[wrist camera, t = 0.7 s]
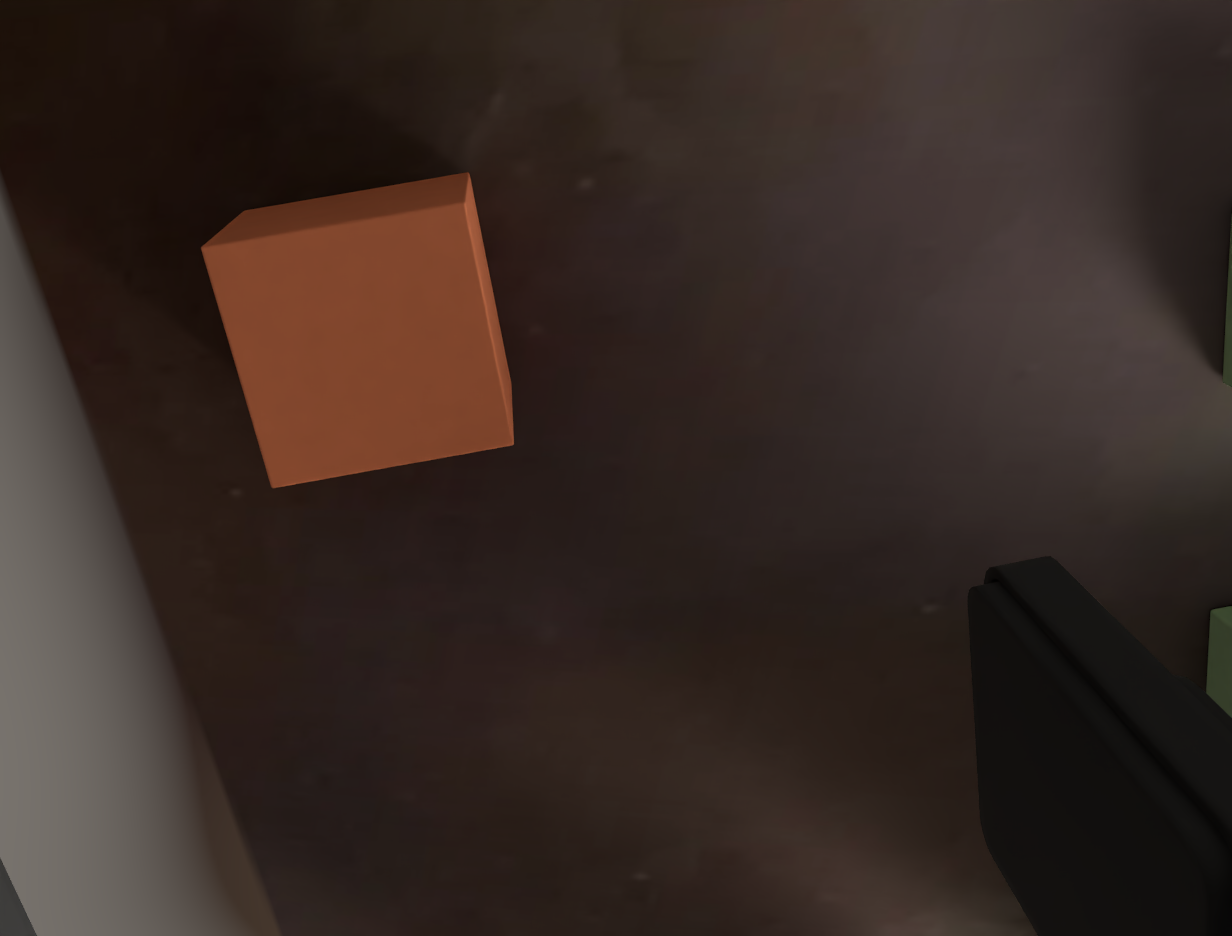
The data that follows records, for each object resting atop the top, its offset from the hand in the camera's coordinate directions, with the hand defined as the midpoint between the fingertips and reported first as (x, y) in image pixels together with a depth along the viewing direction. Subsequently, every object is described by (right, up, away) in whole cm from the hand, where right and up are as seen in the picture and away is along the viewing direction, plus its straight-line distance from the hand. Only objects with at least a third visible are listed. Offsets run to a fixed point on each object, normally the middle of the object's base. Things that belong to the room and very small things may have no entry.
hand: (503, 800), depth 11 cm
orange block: (-4, +7, +16) cm, 18 cm away
